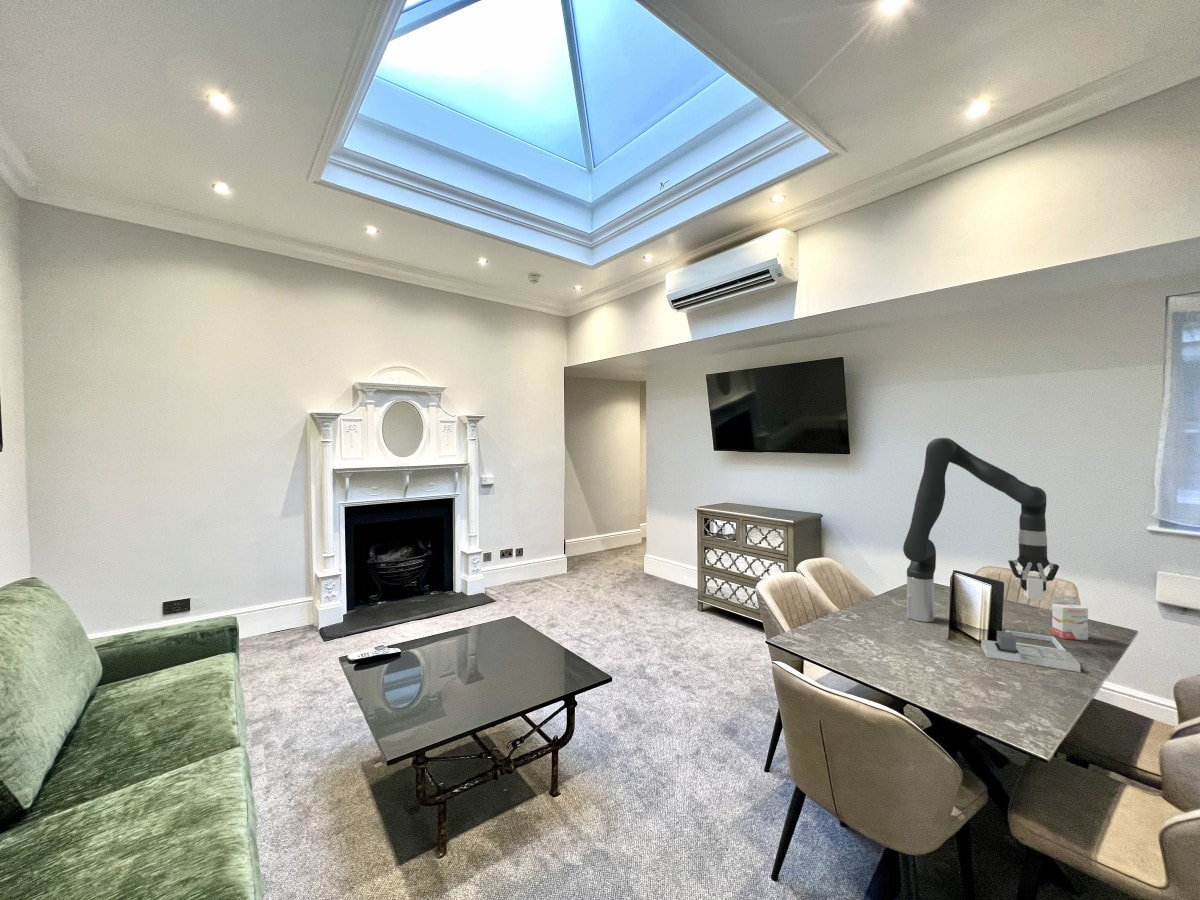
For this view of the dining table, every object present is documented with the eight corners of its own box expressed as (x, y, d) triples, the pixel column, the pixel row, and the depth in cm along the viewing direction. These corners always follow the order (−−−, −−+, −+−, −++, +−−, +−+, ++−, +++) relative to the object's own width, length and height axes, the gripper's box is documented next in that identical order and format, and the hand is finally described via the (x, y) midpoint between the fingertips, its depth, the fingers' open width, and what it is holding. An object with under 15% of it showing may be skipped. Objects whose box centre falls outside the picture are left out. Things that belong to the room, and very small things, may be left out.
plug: (1028, 598, 169) (1027, 578, 169) (1023, 593, 174) (1023, 574, 174) (1043, 600, 167) (1042, 580, 167) (1038, 595, 172) (1038, 576, 172)
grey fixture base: (986, 657, 161) (986, 636, 161) (981, 646, 170) (981, 626, 170) (1080, 672, 149) (1080, 649, 149) (1069, 659, 158) (1069, 638, 158)
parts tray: (1014, 647, 168) (1014, 643, 168) (1005, 634, 180) (1005, 630, 180) (1066, 655, 162) (1066, 650, 162) (1053, 640, 173) (1053, 636, 173)
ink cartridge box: (1063, 639, 174) (1062, 599, 174) (1051, 634, 179) (1051, 595, 179) (1089, 640, 173) (1088, 599, 173) (1076, 634, 178) (1076, 595, 178)
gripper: (1009, 542, 171) (1009, 590, 171) (1063, 546, 164) (1063, 596, 164) (1004, 539, 178) (1005, 585, 178) (1056, 542, 170) (1056, 590, 170)
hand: (1033, 590), depth 171 cm, fingers closed on plug, 4 cm apart
